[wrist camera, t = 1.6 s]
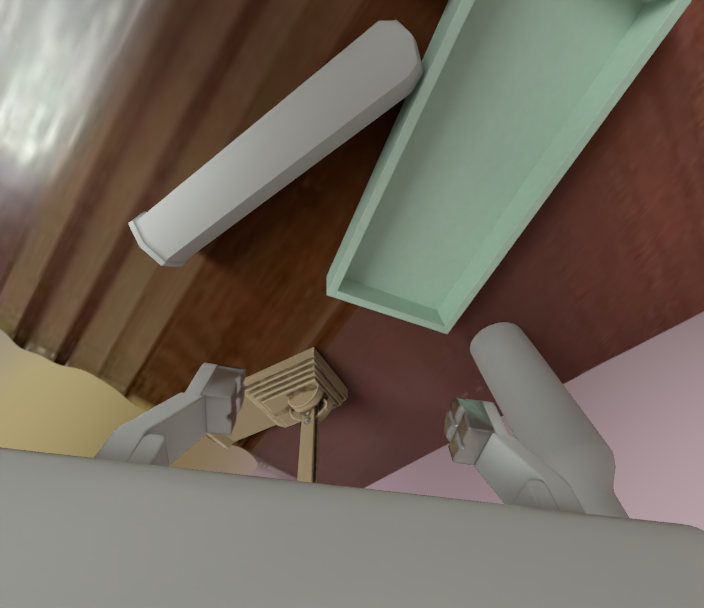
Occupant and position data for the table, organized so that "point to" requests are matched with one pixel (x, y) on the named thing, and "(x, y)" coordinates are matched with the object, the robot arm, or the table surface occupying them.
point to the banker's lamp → (290, 404)
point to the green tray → (486, 145)
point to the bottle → (546, 416)
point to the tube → (283, 143)
